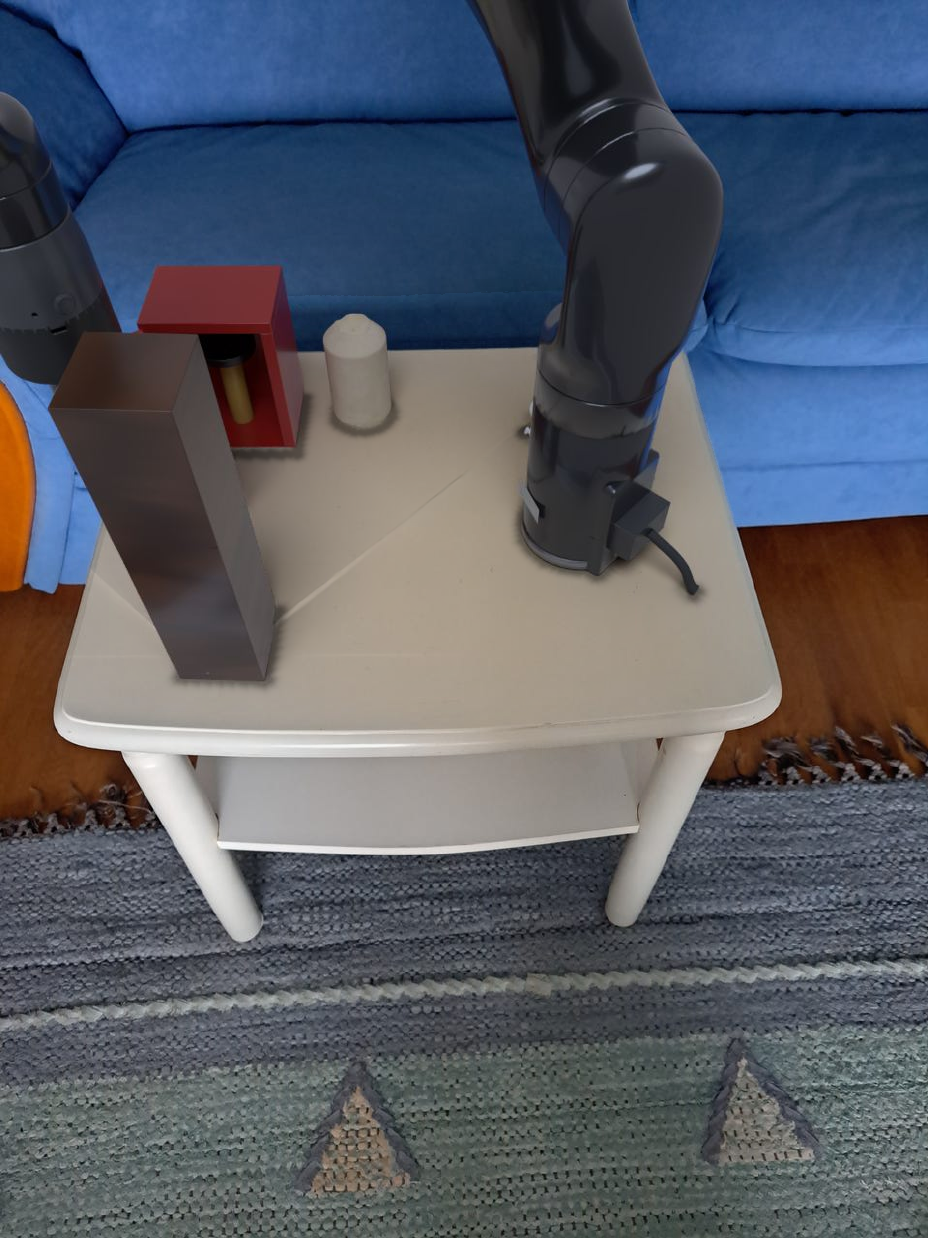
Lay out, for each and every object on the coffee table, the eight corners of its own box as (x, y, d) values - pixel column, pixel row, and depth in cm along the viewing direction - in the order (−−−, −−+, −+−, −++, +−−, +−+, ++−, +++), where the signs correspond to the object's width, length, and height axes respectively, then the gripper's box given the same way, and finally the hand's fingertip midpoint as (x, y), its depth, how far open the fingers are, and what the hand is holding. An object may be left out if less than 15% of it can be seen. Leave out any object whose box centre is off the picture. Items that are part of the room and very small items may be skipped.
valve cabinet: (297, 454, 79) (270, 323, 68) (182, 455, 79) (135, 323, 68) (305, 397, 84) (281, 264, 73) (196, 397, 84) (156, 264, 73)
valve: (283, 415, 81) (267, 339, 74) (239, 444, 79) (218, 368, 72) (247, 391, 83) (228, 314, 76) (203, 418, 81) (180, 342, 74)
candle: (383, 436, 81) (375, 346, 73) (327, 428, 81) (312, 338, 73) (398, 398, 84) (391, 308, 76) (343, 390, 85) (331, 300, 77)
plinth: (277, 612, 69) (198, 333, 48) (264, 681, 65) (171, 411, 44) (197, 610, 69) (83, 330, 48) (179, 678, 65) (46, 408, 44)
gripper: (-49, 251, 56) (56, 451, 70) (2, 369, 49) (107, 564, 63) (67, 218, 58) (146, 418, 72) (132, 326, 51) (205, 525, 65)
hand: (128, 486), depth 67 cm, fingers closed
